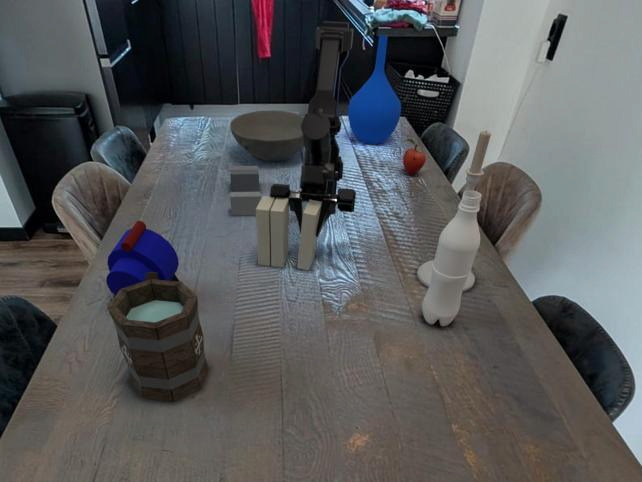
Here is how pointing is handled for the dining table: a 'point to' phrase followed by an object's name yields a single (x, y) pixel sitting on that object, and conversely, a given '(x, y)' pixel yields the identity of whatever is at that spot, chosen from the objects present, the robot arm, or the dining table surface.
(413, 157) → the apple
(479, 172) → the candlestick
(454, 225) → the water bottle
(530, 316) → the dining table surface
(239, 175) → the grey books
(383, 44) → the vase
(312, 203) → the cream rectangular block
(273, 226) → the white books
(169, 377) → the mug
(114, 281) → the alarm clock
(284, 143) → the bowl
